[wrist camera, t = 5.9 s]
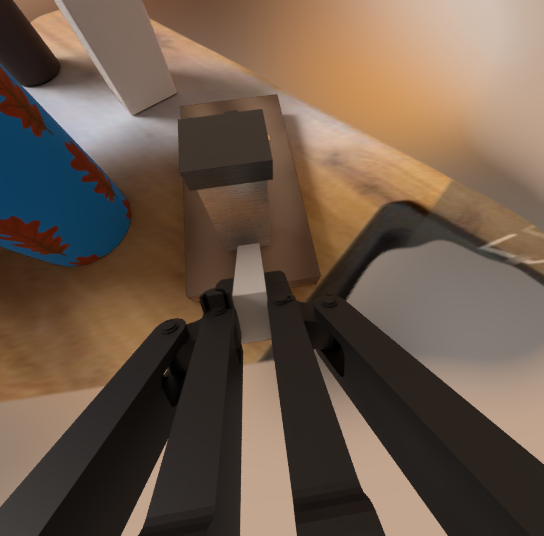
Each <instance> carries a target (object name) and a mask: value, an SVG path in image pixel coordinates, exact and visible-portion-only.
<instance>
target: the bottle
mask: <svg viewBox="0 0 544 536" xmlns="http://www.w3.org/2000/svg"><path fill="white" fill-rule="evenodd" d="M0 64H1V65H2V66H3V67H4V68H5V69H6V70H7V71H8V72H9V73H10V74H11V75H12V76H13V77H14V78H15V79H16V80H17V81H18V82H19V83H20V84H21V85H27V86H34V85H39V84H43V83H45V82H47V81H49V80H51V79H52V78H53V77H55V76H56V74H57V73H58V71H59V68H60V65H59V61H58V60H57V58H56V57H55V56H54V54H53V53H52V52H51V50H50V49H49V48H48V46H47V45H46V44H45V42H44V41H43V40H42V38H41V37H40V36H39V34H38V33H37V32H36V30H35V29H34V28H33V26H32V25H31V24H30V22H29V21H28V20H27V18H26V17H25V16H24V14H23V13H22V12H21V10H20V9H19V8H18V6H17V5H16V4H15V2H14V1H13V0H0Z"/></svg>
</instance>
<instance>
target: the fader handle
mask: <svg viewBox="0 0 544 536" xmlns="http://www.w3.org/2000/svg"><path fill="white" fill-rule="evenodd" d="M178 139H179V173H180V174H181V176H182V178H183V180H184V182H185V184H186V186H187V187H188V189H189V191H194V190H197V191H198V193H199V195H200V197H201V199H202V201H203V204H204V206H205V208H206V210H207V212H208V214H209V216H210V218H211V220H212V222H213V224H214V226H215V228H216V230H217V232H218V234H219V236H220V238H221V240H222V242H223V244H224V246H225V248H226V250H227V252H229V251H236V250H237V249H238V246H242V245H249V244H256V243H259V245H260V247H263V246H269V245H270V225H269V206H268V187H267V180H273V159H272V154H271V149H270V144H269V139H268V134H267V129H266V124H265V119H264V114H263V109H257V110H249V111H241V112H233V113H226V114H218V115H210V116H202V117H194V118H186V119H179V120H178Z"/></svg>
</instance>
